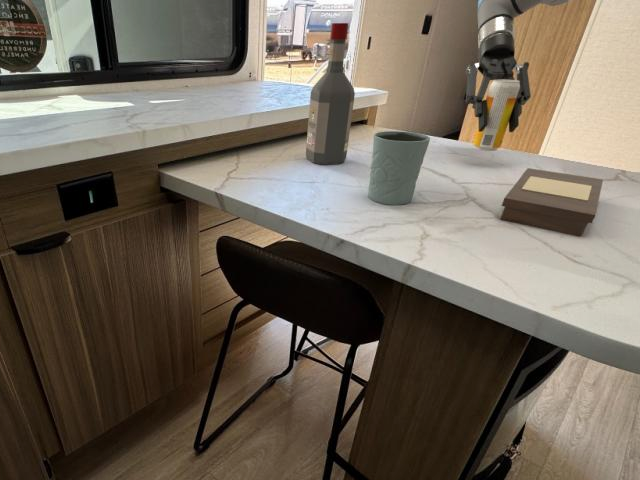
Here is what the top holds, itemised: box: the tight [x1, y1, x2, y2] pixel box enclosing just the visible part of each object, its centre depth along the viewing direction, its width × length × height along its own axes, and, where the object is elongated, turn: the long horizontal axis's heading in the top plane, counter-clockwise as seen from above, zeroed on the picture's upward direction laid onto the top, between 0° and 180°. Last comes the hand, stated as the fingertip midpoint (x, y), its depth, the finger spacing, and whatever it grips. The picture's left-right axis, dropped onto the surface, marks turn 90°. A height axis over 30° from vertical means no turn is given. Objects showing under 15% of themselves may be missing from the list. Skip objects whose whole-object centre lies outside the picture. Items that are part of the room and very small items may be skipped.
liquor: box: [305, 22, 356, 166], centre depth 101 cm, size 9×9×30 cm
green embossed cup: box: [367, 130, 431, 206], centre depth 81 cm, size 10×10×12 cm
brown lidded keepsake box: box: [500, 167, 604, 237], centre depth 78 cm, size 24×13×4 cm, turn 141°
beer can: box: [472, 79, 520, 152], centre depth 99 cm, size 6×6×15 cm
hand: (498, 128), depth 97 cm, fingers closed on beer can, 6 cm apart
